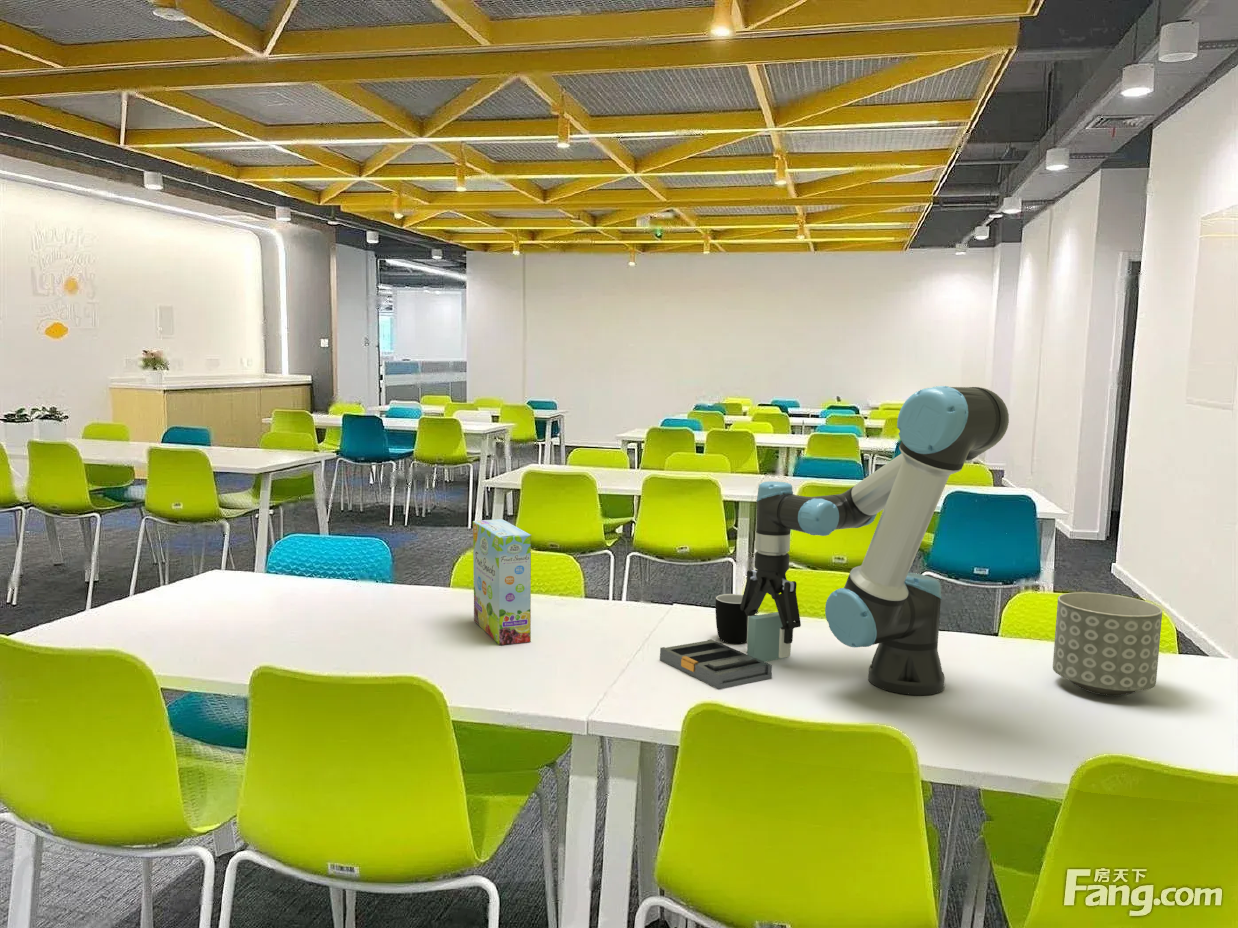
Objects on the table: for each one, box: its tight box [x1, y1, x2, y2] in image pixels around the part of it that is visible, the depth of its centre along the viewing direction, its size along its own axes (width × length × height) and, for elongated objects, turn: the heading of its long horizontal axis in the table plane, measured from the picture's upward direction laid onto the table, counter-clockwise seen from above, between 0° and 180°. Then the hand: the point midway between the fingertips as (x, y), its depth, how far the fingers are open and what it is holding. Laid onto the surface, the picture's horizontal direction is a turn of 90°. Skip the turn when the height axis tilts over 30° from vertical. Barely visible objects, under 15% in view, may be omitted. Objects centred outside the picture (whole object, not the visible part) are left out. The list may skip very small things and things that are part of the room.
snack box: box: [472, 518, 532, 646], centre depth 222 cm, size 22×9×26 cm, turn 25°
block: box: [746, 611, 788, 663], centre depth 207 cm, size 2×10×10 cm, turn 122°
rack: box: [659, 638, 773, 690], centre depth 199 cm, size 21×14×4 cm
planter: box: [1052, 591, 1163, 697], centre depth 192 cm, size 19×19×18 cm
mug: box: [715, 593, 747, 645], centre depth 222 cm, size 12×9×10 cm
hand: (768, 650), depth 207 cm, fingers open, 10 cm apart
